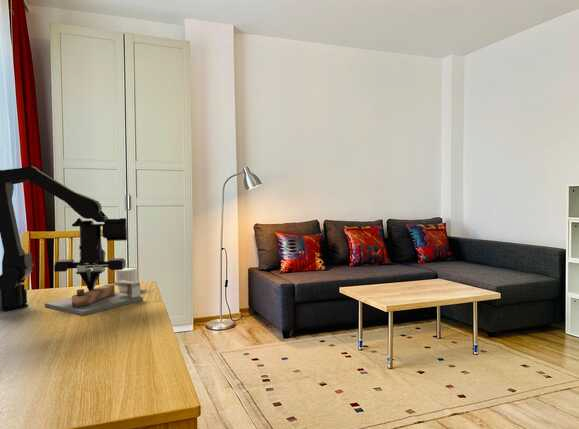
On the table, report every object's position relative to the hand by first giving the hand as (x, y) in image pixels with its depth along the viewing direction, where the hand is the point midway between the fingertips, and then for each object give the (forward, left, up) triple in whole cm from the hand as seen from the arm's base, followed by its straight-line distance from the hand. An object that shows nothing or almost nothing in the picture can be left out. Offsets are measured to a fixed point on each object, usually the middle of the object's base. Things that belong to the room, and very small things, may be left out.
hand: (91, 293), depth 131 cm
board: (-1, -3, -2) cm, 4 cm away
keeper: (+7, -7, -2) cm, 10 cm away
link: (-1, -3, -1) cm, 4 cm away
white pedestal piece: (+16, +5, -3) cm, 17 cm away
